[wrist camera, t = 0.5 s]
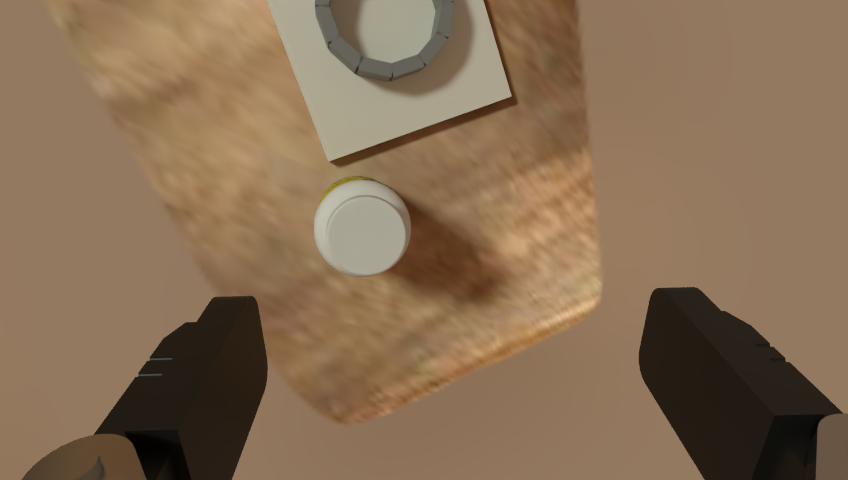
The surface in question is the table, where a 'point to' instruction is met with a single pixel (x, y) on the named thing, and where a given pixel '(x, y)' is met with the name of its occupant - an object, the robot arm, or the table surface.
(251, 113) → the table surface
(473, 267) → the table surface
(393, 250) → the supplement bottle
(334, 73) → the socket plate
